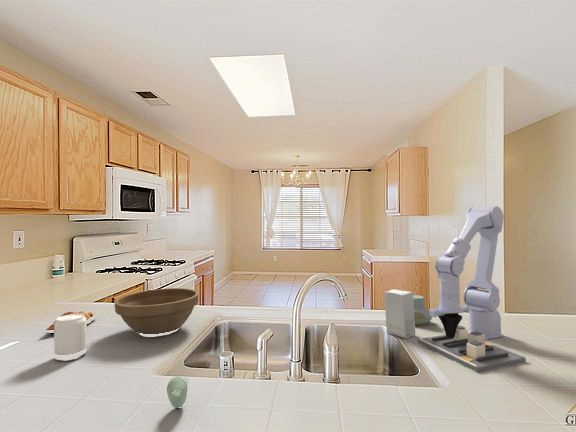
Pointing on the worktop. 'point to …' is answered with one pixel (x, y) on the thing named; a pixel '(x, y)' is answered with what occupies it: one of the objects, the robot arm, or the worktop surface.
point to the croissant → (87, 315)
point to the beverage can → (70, 334)
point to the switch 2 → (475, 350)
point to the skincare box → (399, 313)
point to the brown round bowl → (156, 309)
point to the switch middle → (476, 337)
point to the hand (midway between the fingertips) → (450, 337)
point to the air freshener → (420, 310)
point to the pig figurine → (177, 391)
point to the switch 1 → (461, 333)
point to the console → (458, 353)
